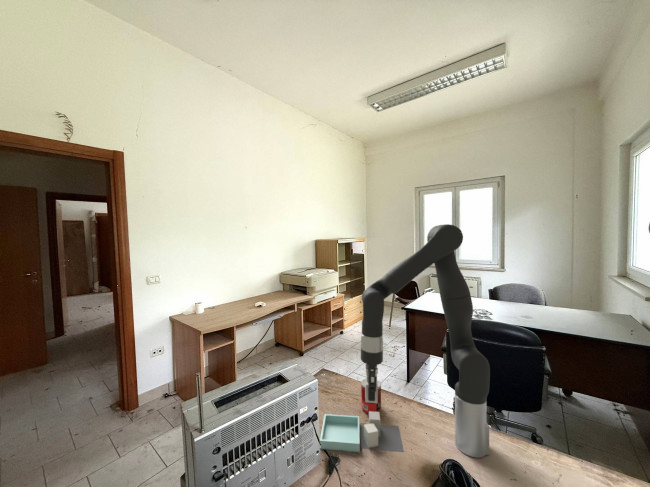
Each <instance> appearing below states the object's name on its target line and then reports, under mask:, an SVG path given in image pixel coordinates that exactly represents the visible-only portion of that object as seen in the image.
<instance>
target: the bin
mask: <svg viewBox="0 0 650 487" xmlns="http://www.w3.org/2000/svg"><path fill="white" fill-rule="evenodd" d="M319 437H320V438H319V445H320V444H321V449H320V450H326V451H327V450H329V451H337V452H338V451H340V452H351V453H353V452H354V453H360V451H361V431H360V416H359V415H345V414H343V415H342V414H330V413H329V414H328V413H327V414H326V413H324V415H323V422H322V428H321V433H320V436H319Z"/></svg>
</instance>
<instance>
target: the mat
mask: <svg viewBox="0 0 650 487" xmlns="http://www.w3.org/2000/svg"><path fill="white" fill-rule="evenodd" d="M365 424H368V423H363V422H361V423H360V422H359V425H360V450H361V449H364V450H374V451H387V452H398V453H405V450H404V446H403V441H402V437H401V431H400V428H399V427H400V426H399V425H393V424H381V423H380V437H379V436H378V446H375V447H370V448H368V446H367V444H366V442H365V440H364V425H365Z"/></svg>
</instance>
